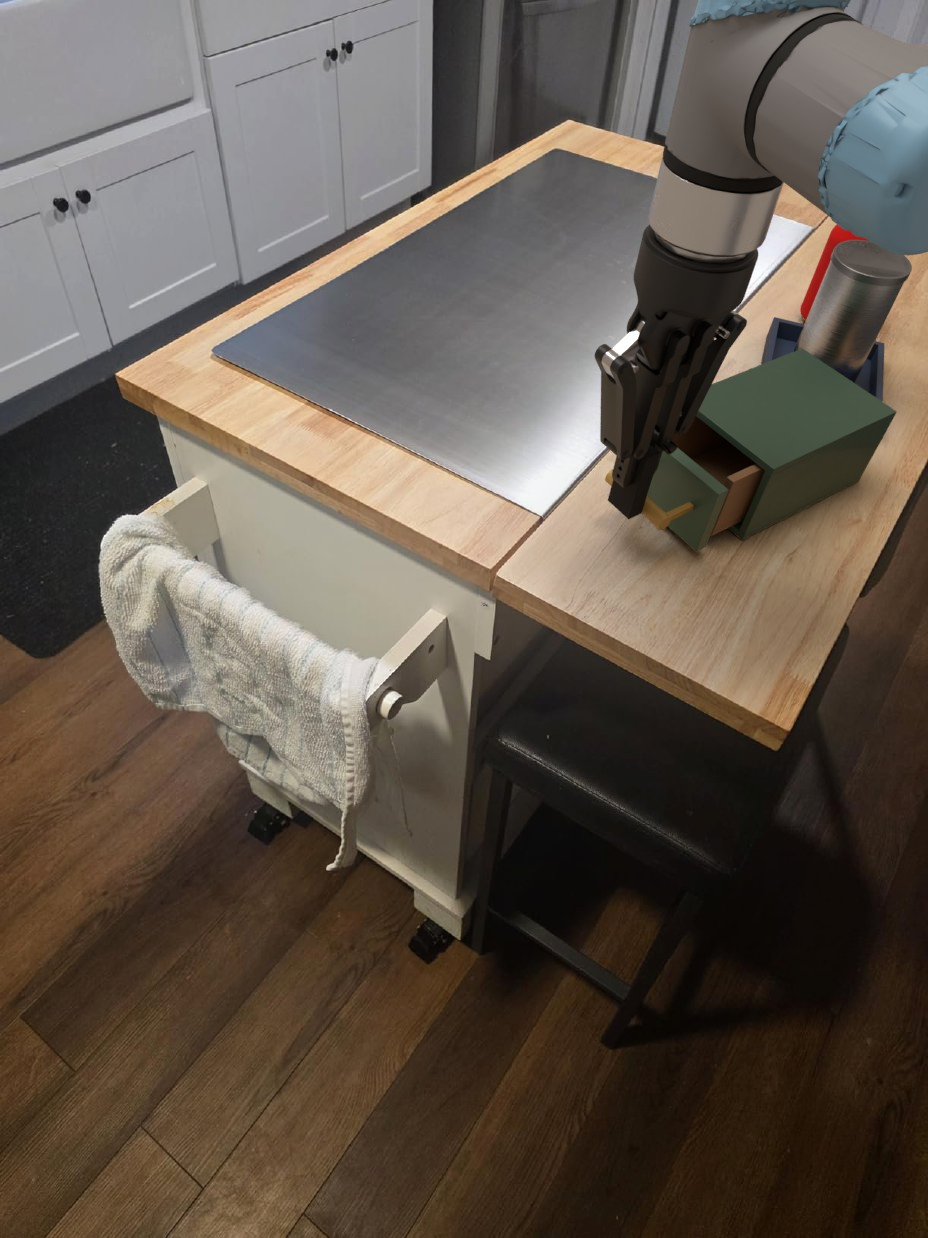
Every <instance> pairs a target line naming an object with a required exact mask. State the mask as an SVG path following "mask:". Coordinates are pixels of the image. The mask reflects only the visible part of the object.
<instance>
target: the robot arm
mask: <svg viewBox="0 0 928 1238" xmlns="http://www.w3.org/2000/svg"><path fill="white" fill-rule="evenodd" d="M850 3H851V0H697V4H696V7H695V11H694V14H693V15H692V17H690V20H689V27H690V30H689V34H688V38H687V42H686V48H685V52H684V57H683V62H682V66H681V70H680V74H679V79H678V83H677V87H676V88H677V89H676V91H675V97H674V101H673V105H672V110H671V115H670V119H669V123H668V127H667V132H666V135H665V140H664V145H663V146H664V147H663V151H662V157H661V161H660V164H659V165H660V166H659V169H658V173H657V178H656V182H655V186H654V190H653V193H652V194H653V195H652V198H651V204H650V207H649V211H648V215H647V221H648V223H649V224H648V225H647V226H646V227H645V229H644V231H643V233H642V237H641V241H640V242H641V243H640V245H639V249H638V250H639V251H638V254H637V258H636V262H635V267H634V271H633V284H634V287H635V292H636V296H637V297H636V298H637V304H636V306H635V308H634V311H633V312H632V313H631V316H630V317H629V318H628V321H627V324H626V335H625V336H623V337H622V338H621V339H620V340H619V341H618V342H617V343H616V344H615V345H614V346H613V347H611V346H610V345H608V344H607V343H603V344H601V345H599V346H598V347H597V349H595V351H594V359H595V362H596V364H597V366H598V368H599V370H600V422H599V423H600V425H599V426H600V430H599V433H600V434H599V436H600V437H599V441H600V443H601V444H602V445H604V446H605V447H606V448H607V449H608V451H610V452H612V453H613V454H614V455H615V456H616V457H615V461H614V465H613V468H612V469H613V472H612V478H613V482H612V486H610V490H609V494H608V498H607V501H608V502H609V503H610V504H611V505H612V506H613V507H614V508H616V509H617V510H618V512H620V513H621V514H622V515H623V516H624V517H625V518H626V519H627V520H630V519H632V518H634V517H637V516H639V515H641V513H642V510H643V507H644V504H645V500H646V497H647V494H648V491H649V488H650V484H651V481H652V478H653V475H654V474H655V472H656V470H657V468H658V465H659V462H660V459H661V455H662V452H663V451H665V452H666V453H667V454H672V453H673V452H674V451H675V450H676V449H677V447H678V445H677V444H676V443H675V442H673V441H672V438H673V435H675V434H676V433H678V434H679V435H684V434H685V433H686V432H687V431H688V430H689V428H690V426H691V424H692V422H693V420H694V418H695V416H696V414H697V412H698V410H699V408H700V406H701V404H702V402H703V401H704V399H705V397H706V395H707V393H708V391H709V389H710V387H711V385H712V384H713V383H714V381H715V379H716V377H717V374H718V373H719V371H720V369H721V367H722V366H723V363H724V362H725V361H724V360H725V359H726V356H727V355H728V353H729V351H730V349H731V348H732V347H733V345H734V344H735V342H736V341H737V340H738V338H739V337H740V335H741V334H742V332H743V331H744V330H745V328H746V326H747V324H748V320H747V319H746V318H745V317H743V316H742V315H740V314H739V313H738V312H736V311H735V310H736V309H737V308H738V307H739V306H740V305H741V304H742V303H743V301H744V299H745V297H746V294H747V290H748V288H749V284H750V282H751V279H752V276H753V273H754V271H755V267H756V264H757V261H758V259H759V250H758V249H759V248H760V247H762V246H763V243H764V242H765V241H766V239H767V235H768V232H769V229H770V226H771V223H772V220H773V217H774V214H775V212H776V208H777V205H778V202H779V199H780V195H781V192H782V190H783V186H784V184H785V185H787V186H788V187H789V188H791V189H792V190H793V191H794V192H796V193H797V194H798V195H800V196H801V197H803V198H804V199H805V200H807V201H808V202H809V203H811V204H812V205H813V206H814V207H816V208H817V209H819V210H820V211H821V212H823V213H824V214H825V215H827V216H828V217H829V218H830V219H831V221H832V222H833V223H834V224H835V225H837V224H838V225H839V226H840V227H841V228H842V229H843V230H849V231H850V232H851V233H852V234H854V235H855V236H858V237H861V238H865V239H867V240H869V241H870V242H872V243H874V244H876V245H877V246H879V247H881V248H882V249H884V250H886V251H888V252H891V253H894V254H898V255H904V256H915V255H916V256H917V255H922V254H926V253H927V252H928V43H924V44H917V43H916V44H915V43H909V42H905V41H902V40H899V39H896V38H894V37H891V36H889V35H887V34H885V33H883V32H880V31H878V30H875V29H874V28H871V27H869V26H867V25H865V24H863V23H862V22H861V21H859V20H857V19H855V18H854V17H852V16H851V15H850V14H847V13H846V12H845V10H846V8H848V7H849V4H850ZM681 412H682V415H680V413H681Z"/></svg>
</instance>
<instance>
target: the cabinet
mask: <svg viewBox="0 0 928 1238" xmlns="http://www.w3.org/2000/svg"><path fill="white" fill-rule="evenodd" d="M896 414H897V410H895V409H894V408H892V407H891V406H890V405H888V404H886V402H884V401H883V402H882V401H880V400H879V399H877V398H876V397H874V396H873V395H871V394H870V393H868V392H867V391H865V390H864V389H862V388H861V387H859V386H858V385H856V384H855V383H853V382H852V381H850V380H849V379H847V378H846V377H844V376H843V375H842V374H840V373H839V372H837V371H836V370H834V369H833V368H831V367H830V366H828V365H827V364H825V363H824V362H822V361H821V360H819V359H818V358H816V357H815V356H813V355H812V354H810V353H809V352H807V351H806V350H804V349H800V350H797V351H795V352H792V353H790V354H787V355H785V356H782V357H780V358H777V359H774V360H772V361H769V362H767V363H764V364H762V365H761V364H759V365H756V366H754V367H752V368H749V369H747V370H744V371H742V372H739V373H735V374H733V375H731V376H729V377H726V378H724V379H721V380H719V381H717V382H713V383H712V385H711V387H710V389H709V391H708V393H707V395H706V397H705V399H704V401H703V402H702V404H701V406H700V408H699V410H698V412H697V414H696V416H697V417H698V418H699V419H700V420H702V421H703V422H704V423H705V424H707V425H708V426H709V427H711V428H712V429H713V430H714V431H716V432H717V433H718V434H719V435H721V436H722V437H723V438H725V439H726V440H727V441H728V442H730V443H731V444H732V445H733V446H735V447H736V448H737V449H739V450H740V451H741V452H742V453H744V454H745V455H746V456H747V457H749V458H750V459H751V460H753V461H754V462H755V463H756V464H758V465H759V466H760V467H761V468H763V469H764V470H765V473H764V475H763V477H762V480H761V482H760V484H759V486H758V489H757V491H756V493H755V496H754V498H753V500H752V502H751V505H750V507H749V509H748V512H747V514H746V516H745V518H744V520H743V521H741V522H739V523H737V524H735V525H733V526H731V527H729V528H727V529H728V530H729V531H730V532H731V533H733V534H734V535H735V536H736V537H737V538H738V539H740V540H741V541H744V540H746V539H748V538H750V537H752V536H754V535H756V534H758V533H760V532H762V531H764V530H766V529H768V528H771V526H775V525H776V524H778V523H780V522H782V521H784V520H785V519H787V518H790V517H792V516H793V515H794V516H795V515H796V514H797V513H799V512H801V511H804V510H806V509H807V508H809V507H811V506H814V505H816V504H817V503H819V502H822V501H823V500H826V499H827V498H829V497H831V496H834V495H835V494H837V493H839V492H841V491H843V490H845V489H847V488H849V487H851V486H853V485H855V484H857V483H859V482H860V480H861V478H862V476H863V474H864V472H865V471H866V469H867V467H868V465H869V464H870V462H871V459H873V456H874V454H875V453H876V451H877V449H878V447H879V445H880V443H881V441H882V440H883V438H884V436H885V434H886V432H887V431H888V429H889V427H890V425H891V423H892V422H893V420H894V418H895V416H896ZM680 415H682V412H681V413H680Z"/></svg>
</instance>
